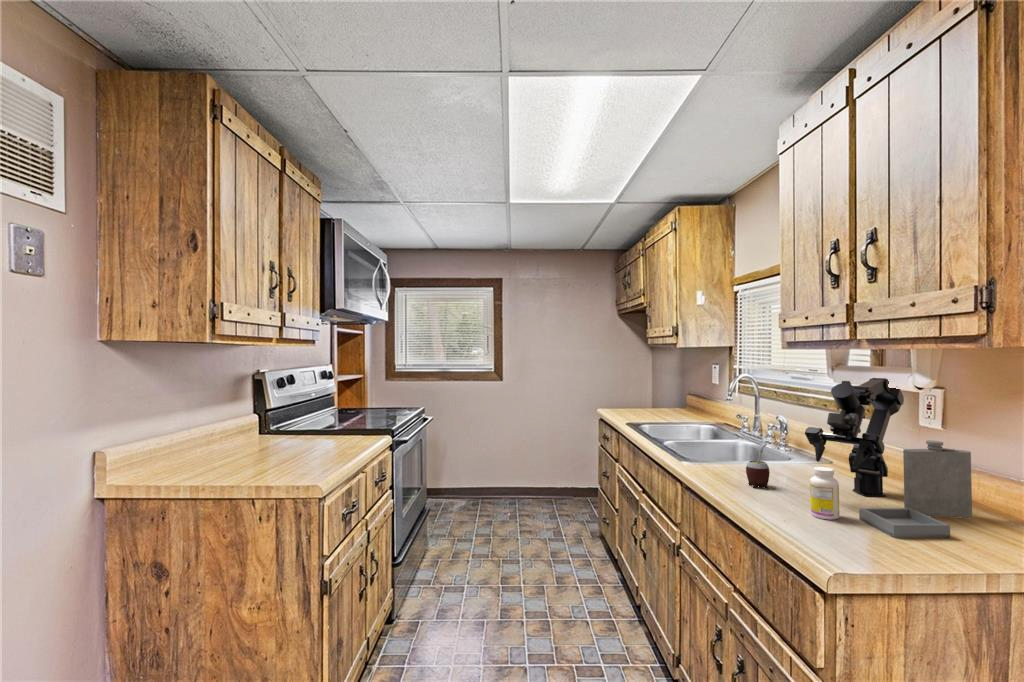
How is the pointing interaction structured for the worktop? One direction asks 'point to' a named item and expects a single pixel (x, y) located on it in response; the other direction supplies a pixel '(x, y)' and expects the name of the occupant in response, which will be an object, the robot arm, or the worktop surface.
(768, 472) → the mate gourd
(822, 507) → the supplement bottle
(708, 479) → the worktop surface
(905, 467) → the hip flask
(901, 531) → the tray
